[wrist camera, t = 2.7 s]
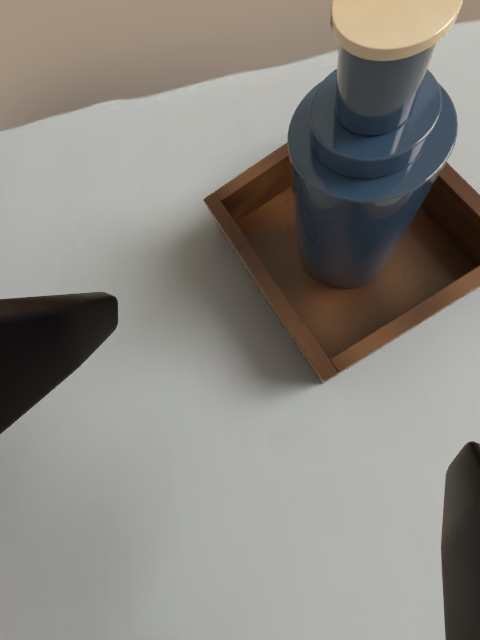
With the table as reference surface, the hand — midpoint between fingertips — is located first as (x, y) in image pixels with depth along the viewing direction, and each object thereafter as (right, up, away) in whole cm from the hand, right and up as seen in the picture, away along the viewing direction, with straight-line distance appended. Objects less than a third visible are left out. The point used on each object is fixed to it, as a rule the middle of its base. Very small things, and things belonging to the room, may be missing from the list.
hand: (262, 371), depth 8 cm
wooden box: (+6, +6, +13) cm, 16 cm away
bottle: (+6, +6, +13) cm, 15 cm away
